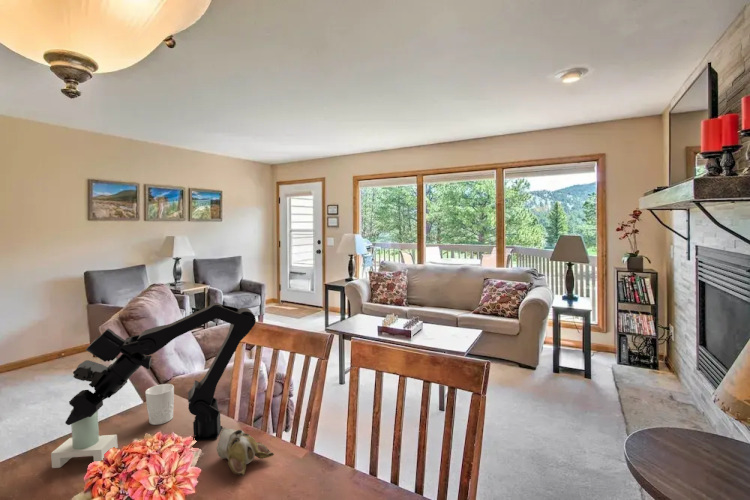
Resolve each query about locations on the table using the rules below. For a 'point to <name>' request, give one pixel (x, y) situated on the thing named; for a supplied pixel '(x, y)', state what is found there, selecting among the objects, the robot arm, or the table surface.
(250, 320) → the robot arm
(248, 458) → the ceramic sculpture
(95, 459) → the shelf
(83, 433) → the sage spray can
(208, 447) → the table surface
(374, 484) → the table surface
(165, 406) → the white cup
